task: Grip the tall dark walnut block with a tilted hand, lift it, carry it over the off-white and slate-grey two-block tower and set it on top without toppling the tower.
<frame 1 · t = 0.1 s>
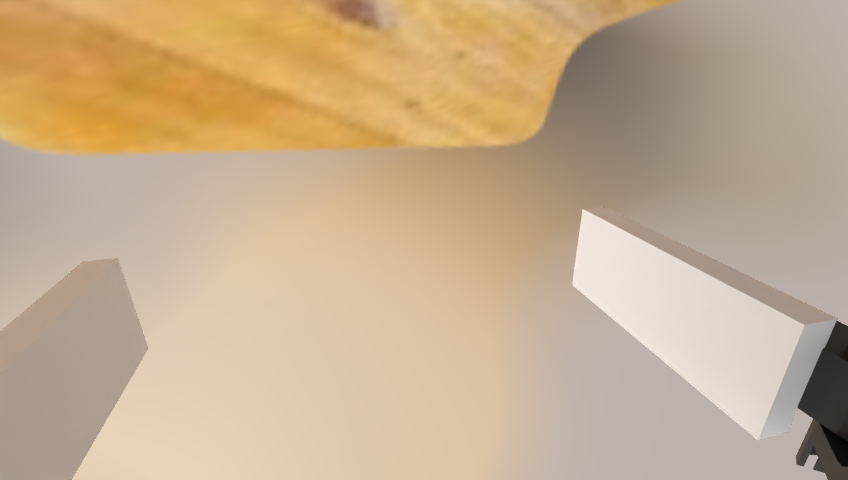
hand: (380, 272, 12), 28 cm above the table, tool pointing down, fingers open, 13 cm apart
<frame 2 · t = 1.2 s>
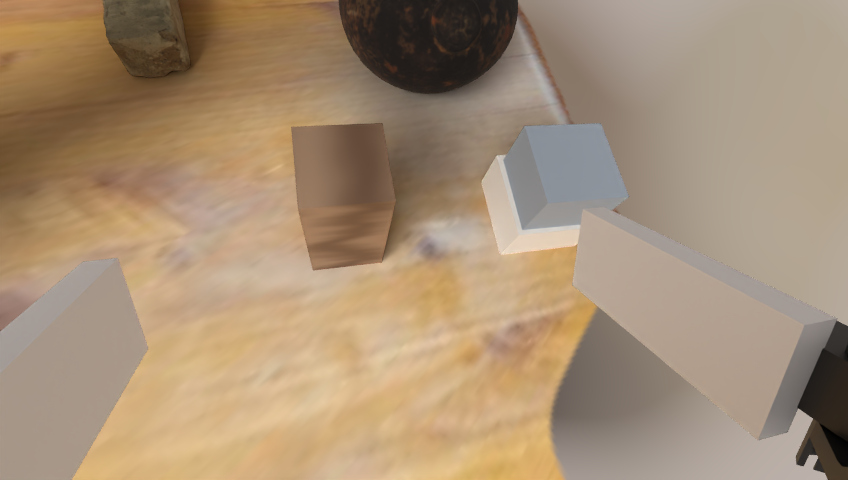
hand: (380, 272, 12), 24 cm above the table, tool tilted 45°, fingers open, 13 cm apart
tower top block: (548, 191, 37), point 5 cm above the table
stone block: (157, 38, 43), on the table
tower base block: (526, 214, 42), on the table
walnut block: (344, 235, 38), on the table
dark brown bulbous vessel: (418, 57, 48), on the table
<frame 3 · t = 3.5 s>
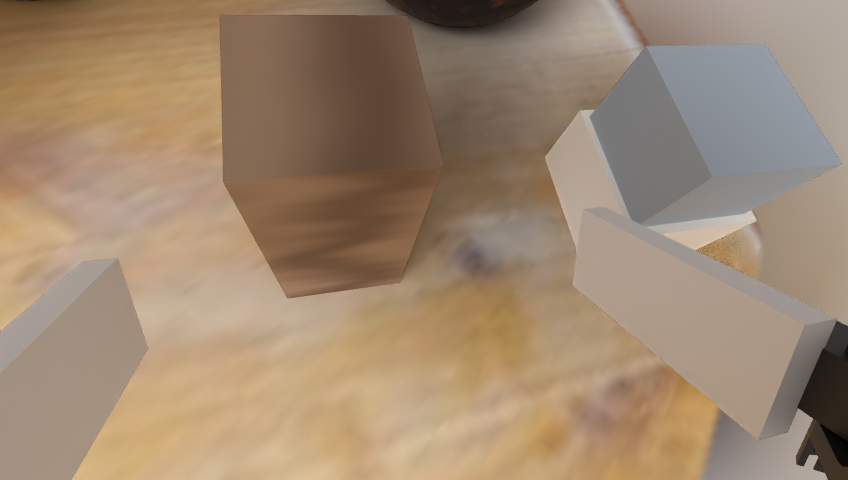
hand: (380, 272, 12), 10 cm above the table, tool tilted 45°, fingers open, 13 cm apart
tower top block: (665, 164, 23), point 5 cm above the table, touching tower base block
tower base block: (614, 205, 28), on the table, touching tower top block
walnut block: (338, 239, 23), on the table
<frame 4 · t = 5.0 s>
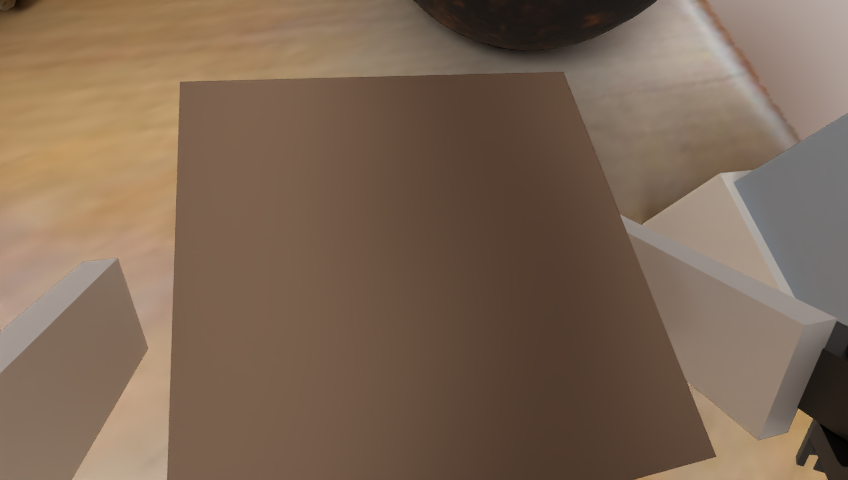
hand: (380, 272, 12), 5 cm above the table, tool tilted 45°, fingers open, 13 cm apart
tower top block: (847, 252, 16), point 5 cm above the table, touching tower base block
tower base block: (739, 289, 21), on the table, touching tower top block
walnut block: (376, 362, 16), on the table
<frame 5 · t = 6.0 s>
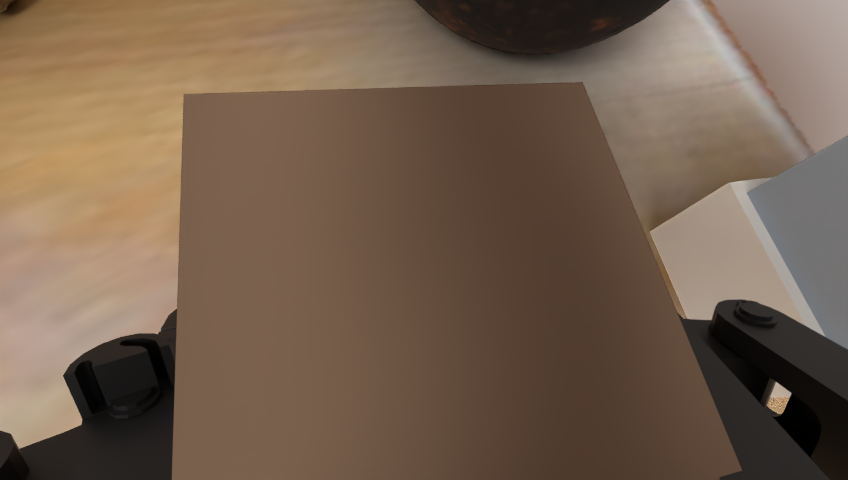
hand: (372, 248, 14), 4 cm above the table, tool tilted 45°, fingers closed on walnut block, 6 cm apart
tower base block: (747, 297, 20), on the table, touching tower top block
walnut block: (380, 372, 16), on the table, touching gripper
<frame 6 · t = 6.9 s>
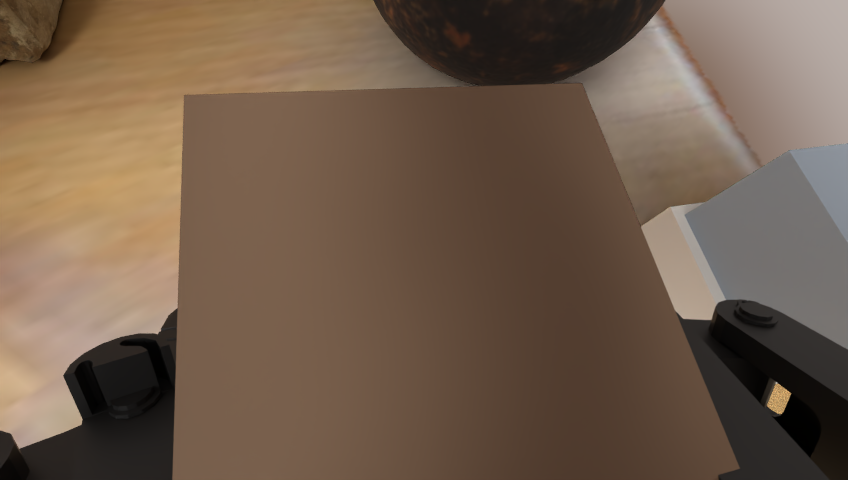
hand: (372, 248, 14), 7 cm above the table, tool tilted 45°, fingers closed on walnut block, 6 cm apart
tower top block: (784, 275, 18), point 5 cm above the table
stone block: (19, 2, 24), on the table
tower base block: (698, 304, 23), on the table
walnut block: (380, 372, 16), point 3 cm above the table, touching gripper
dark brown bulbous vessel: (482, 31, 29), on the table
when the fingers open (15 cm above the table, at t = 12.9 s): walnut block drops 2 cm, resting on tower top block.
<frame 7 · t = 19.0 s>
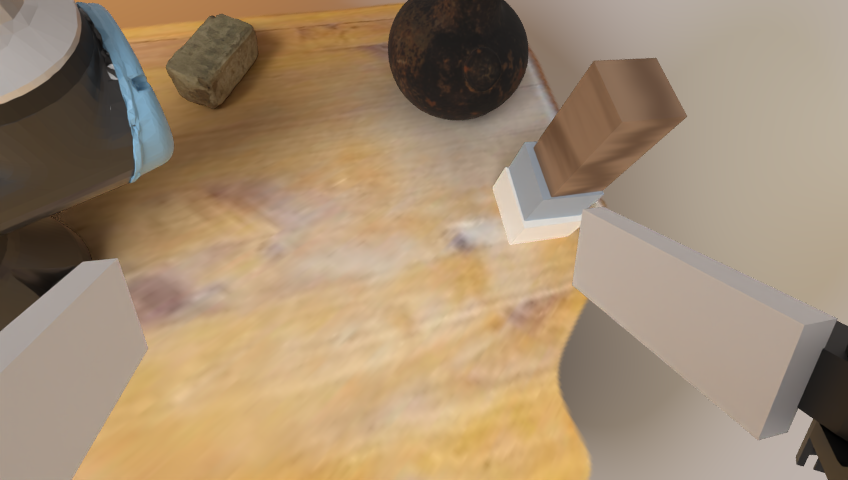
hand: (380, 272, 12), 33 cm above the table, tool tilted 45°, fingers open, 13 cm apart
tower top block: (543, 191, 48), point 5 cm above the table, touching tower base block, walnut block
stone block: (222, 76, 54), on the table
tower base block: (529, 212, 53), on the table, touching tower top block
walnut block: (567, 169, 44), point 10 cm above the table, touching tower top block
dark brown bulbous vessel: (447, 89, 59), on the table
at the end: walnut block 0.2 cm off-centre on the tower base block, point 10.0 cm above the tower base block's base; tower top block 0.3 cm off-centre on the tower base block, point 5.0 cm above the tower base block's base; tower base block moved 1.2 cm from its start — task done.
